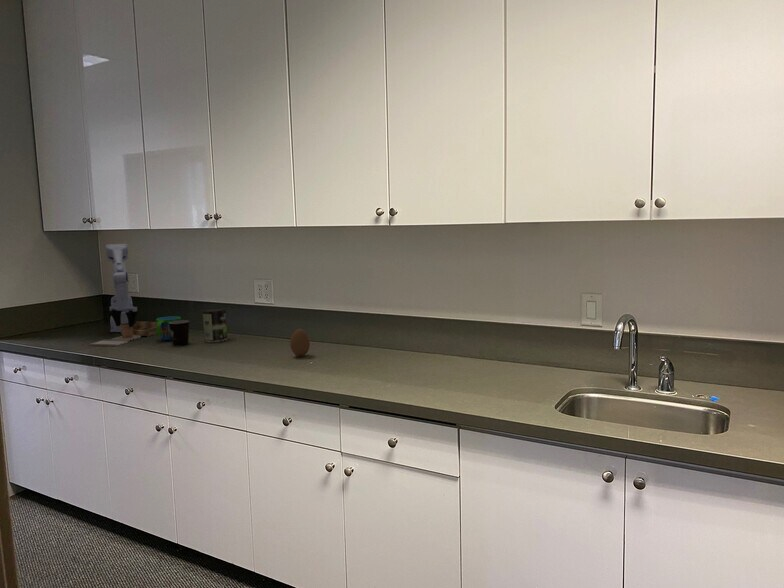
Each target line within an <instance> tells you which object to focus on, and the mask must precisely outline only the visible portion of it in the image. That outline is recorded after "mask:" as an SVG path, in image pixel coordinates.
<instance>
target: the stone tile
mask: <svg viewBox="0 0 784 588" xmlns="http://www.w3.org/2000/svg"><path fill="white" fill-rule="evenodd" d="M140 337H141V336H138V335H133V337H129V338H122V336H121V335H120V336H116V337H113V338H110V340H129V342H131V341H134V340H137V338H138V339H141V338H142V337H141V338H140ZM133 339H134V340H133ZM130 340H131V341H130Z"/></svg>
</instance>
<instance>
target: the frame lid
mask: <svg viewBox="0 0 784 588" xmlns="http://www.w3.org/2000/svg"><path fill="white" fill-rule="evenodd" d="M129 342H130V341H129V340H111V339H101V340H100V341H96V342H93V343H92V342H91V343H88V346H89V347H113V346H116V347H118V345H119V346H121V344H122V345H124V343H125V344H128V343H129Z"/></svg>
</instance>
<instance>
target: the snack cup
mask: <svg viewBox="0 0 784 588" xmlns="http://www.w3.org/2000/svg"><path fill="white" fill-rule="evenodd" d="M180 320H182V318H181V316H178V315H177V316H176V315H175V316H173V315H172V316H169V315H168V316H163V317H157V318H156V319H155V322H157V329H156V333H157V335H156V336H159V337H160V339H161V340H162V341H165V342H167V341H166V340H170V341H172V337H171V332H170V327H169V322H172V321H180Z"/></svg>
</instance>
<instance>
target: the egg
mask: <svg viewBox="0 0 784 588" xmlns="http://www.w3.org/2000/svg"><path fill="white" fill-rule="evenodd" d="M310 343H311V342H310V337H309V335H308V334H307V332H306V331H305V330H304V329H301V328H298V329H296V330H295V331H294V332H293V333H292V335H291V338H290V341H289V345H290V349H291V351H292V353H293V355H295V356H297V357H304V356H305V355H307V354H308V352H309V350H310V346H311V344H310Z"/></svg>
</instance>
